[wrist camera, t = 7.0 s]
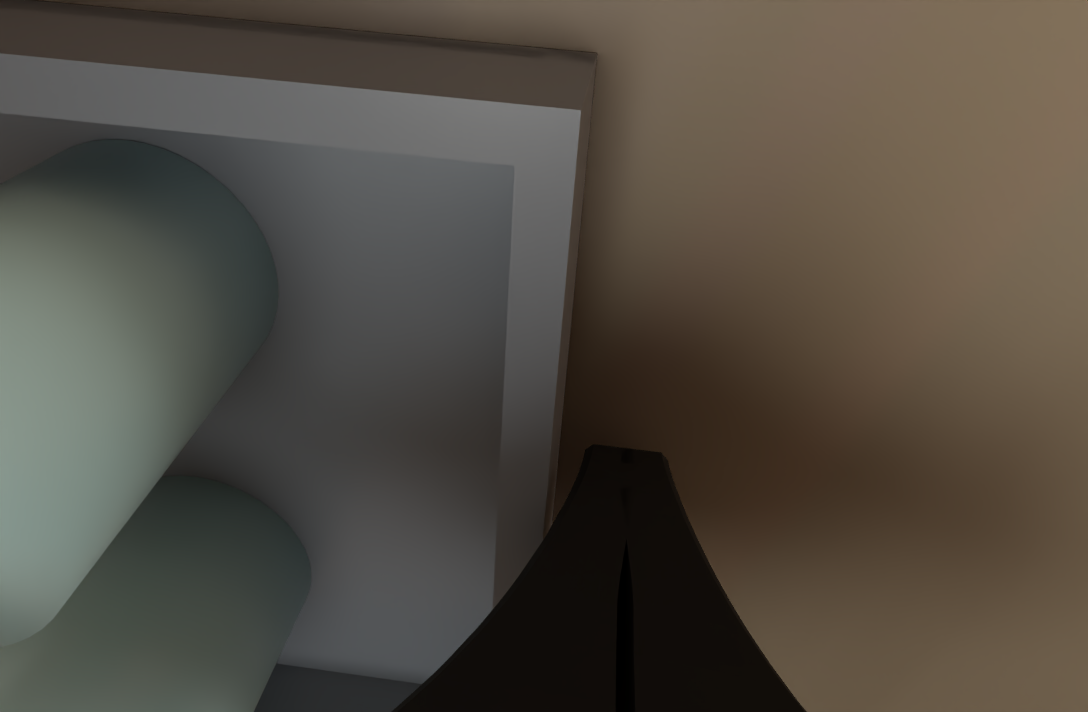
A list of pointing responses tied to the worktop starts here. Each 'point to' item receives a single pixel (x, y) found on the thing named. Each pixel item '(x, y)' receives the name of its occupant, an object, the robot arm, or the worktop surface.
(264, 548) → the pale green rounded cylinder
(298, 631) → the tray
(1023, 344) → the worktop surface
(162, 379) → the mint green capsule
